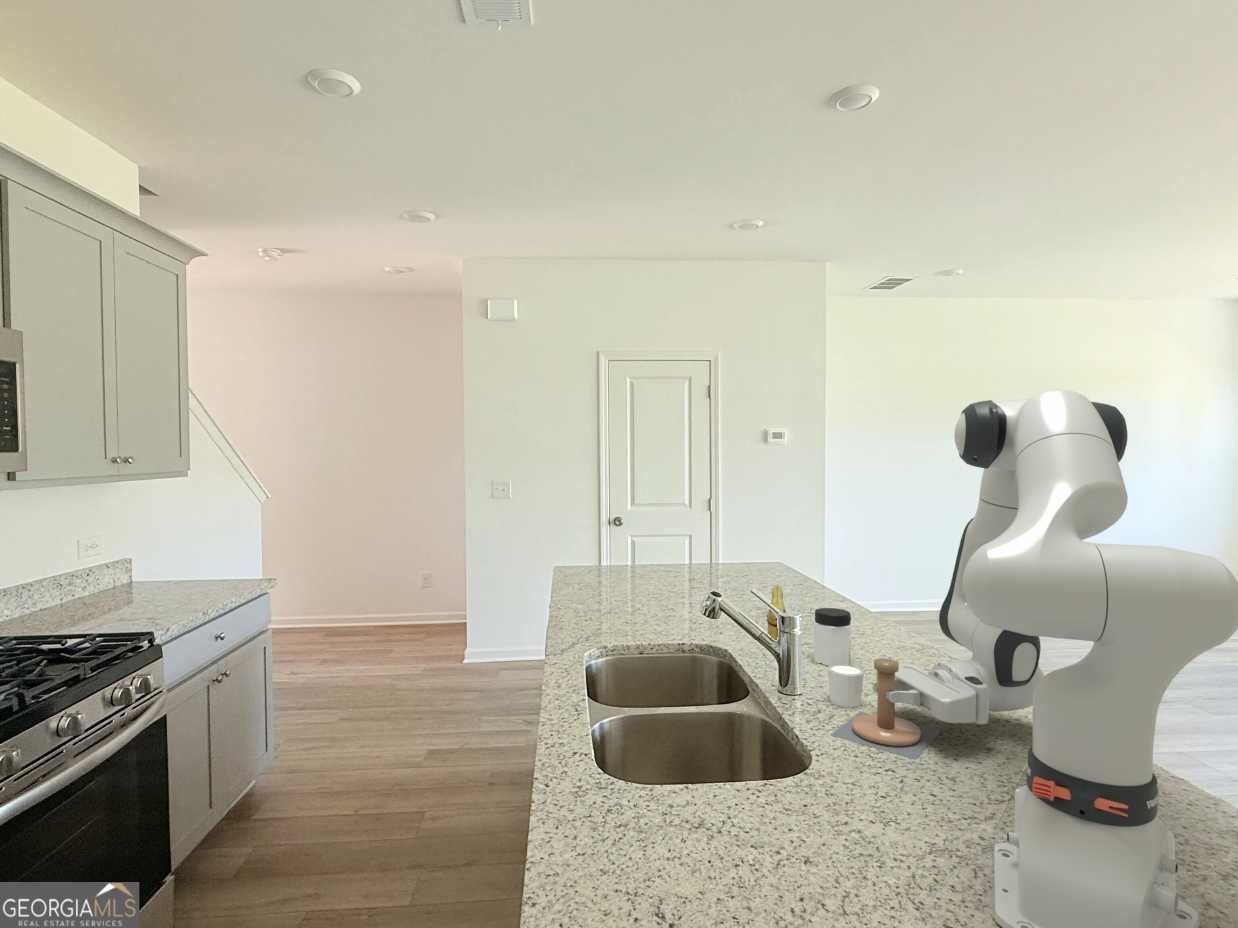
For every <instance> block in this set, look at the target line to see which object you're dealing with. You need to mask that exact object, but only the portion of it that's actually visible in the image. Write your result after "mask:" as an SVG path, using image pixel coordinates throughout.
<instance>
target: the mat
mask: <svg viewBox="0 0 1238 928" xmlns="http://www.w3.org/2000/svg"><path fill="white" fill-rule="evenodd" d="M866 714H869V713H867V712H864V711H862V710H861V711H859V712H857V713H856V714H855V715H854V716H853V717H851V718H849V719H848V721H846V722H845V723H843V725H841V726H840V727H839V728H837V729H836V730H835V731H833V732H832V733H831V734H830V736H833V737H836V738H837V739H838V738H840V739H842V740H846V741H849V742H851V743H852V742H853V743H856V744H860V745H864V746H867V747H870V748H873V749H878V750H881V751H884V752H887V753H890V754H895V755H899V756H901V757H905V758H908V759H912V760H914V761H915V760H917V759H918V758H919V757H920V756H921V754H923V752H924V751H925V750H926V749H927V748H928V747H929V745H930V744H931V743H932V742H933V741H934V740H935V739H936V738H937V737H938V736H939V734H940V733H941V731H939V730H934V729H931V728H927V727H922V726H919V725H916V726H917V727H919V729H920V731H921V739H920V741H919V742H917V743H915V744H912V745H906V746H893V745H885V744H880V743H876V742H872V741H869V740H867V739H864V738H862V737H860V736H859V735H857V734H856V733H855V732H854V731H853V728H852V721H853V719H854V718H855V717H857V716H860V715H866Z"/></svg>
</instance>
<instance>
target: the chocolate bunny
mask: <svg viewBox="0 0 1238 928" xmlns="http://www.w3.org/2000/svg"><path fill="white" fill-rule="evenodd" d="M771 604H772V605H773V606H774V607H776V608H777V609H779V610H780V611H782V612H783V613H786V614H787V611H786V607H785V603H784V592H783V589H782V586H780V585H779V584H775V585H774V587H773V588H772V591H771V602H770V605H771ZM767 612H768V613H767V616H766V622H767V632H766V633H767V635H768V634H769V635H770V636H771V638H773V639H774V640H777V637H778V628H777V618H776V616H775V614H774V613H773V612H772V611H771V610H770V609H768V611H767Z"/></svg>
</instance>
